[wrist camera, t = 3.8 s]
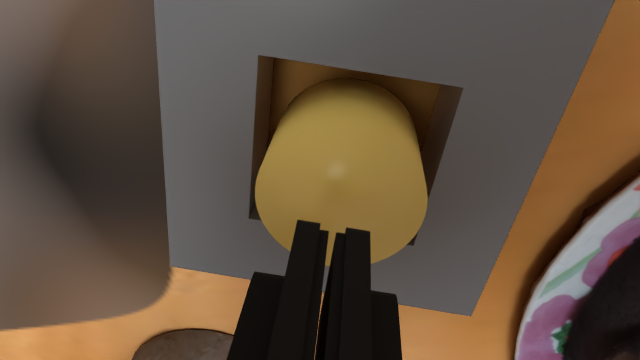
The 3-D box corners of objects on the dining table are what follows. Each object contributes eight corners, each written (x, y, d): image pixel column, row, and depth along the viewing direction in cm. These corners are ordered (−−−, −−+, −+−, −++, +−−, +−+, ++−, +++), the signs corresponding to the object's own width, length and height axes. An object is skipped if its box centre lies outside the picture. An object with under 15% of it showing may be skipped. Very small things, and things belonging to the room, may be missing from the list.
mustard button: (433, 91, 14) (449, 140, 11) (399, 213, 17) (405, 278, 14) (282, 67, 14) (260, 109, 11) (271, 192, 17) (250, 253, 14)
